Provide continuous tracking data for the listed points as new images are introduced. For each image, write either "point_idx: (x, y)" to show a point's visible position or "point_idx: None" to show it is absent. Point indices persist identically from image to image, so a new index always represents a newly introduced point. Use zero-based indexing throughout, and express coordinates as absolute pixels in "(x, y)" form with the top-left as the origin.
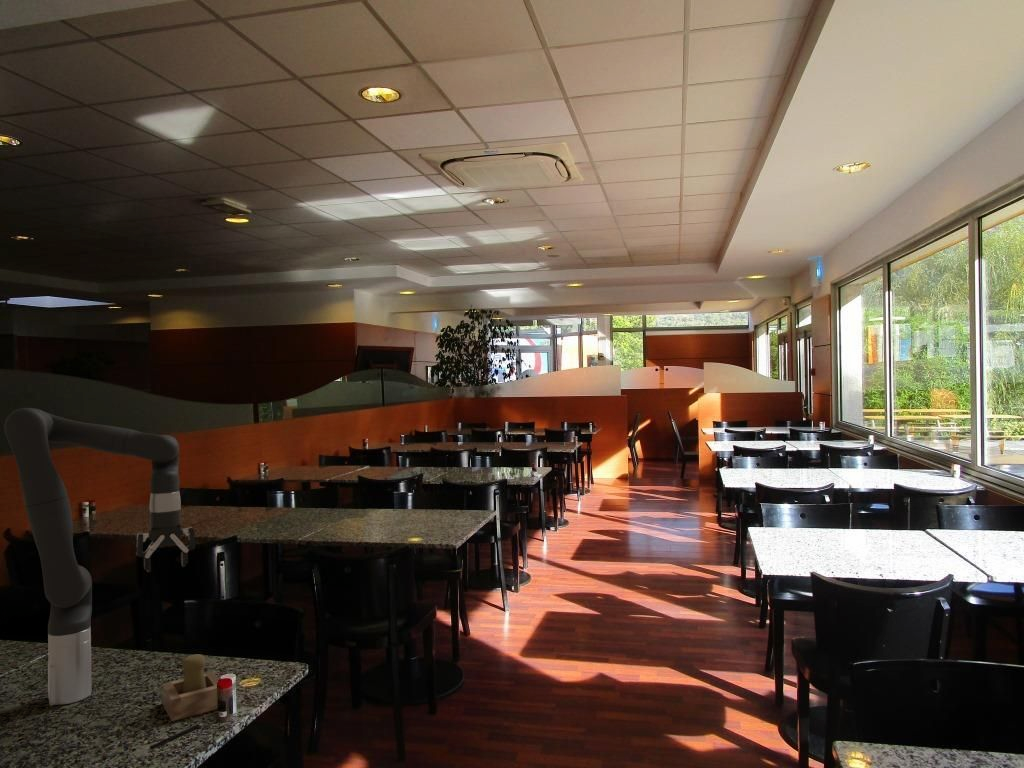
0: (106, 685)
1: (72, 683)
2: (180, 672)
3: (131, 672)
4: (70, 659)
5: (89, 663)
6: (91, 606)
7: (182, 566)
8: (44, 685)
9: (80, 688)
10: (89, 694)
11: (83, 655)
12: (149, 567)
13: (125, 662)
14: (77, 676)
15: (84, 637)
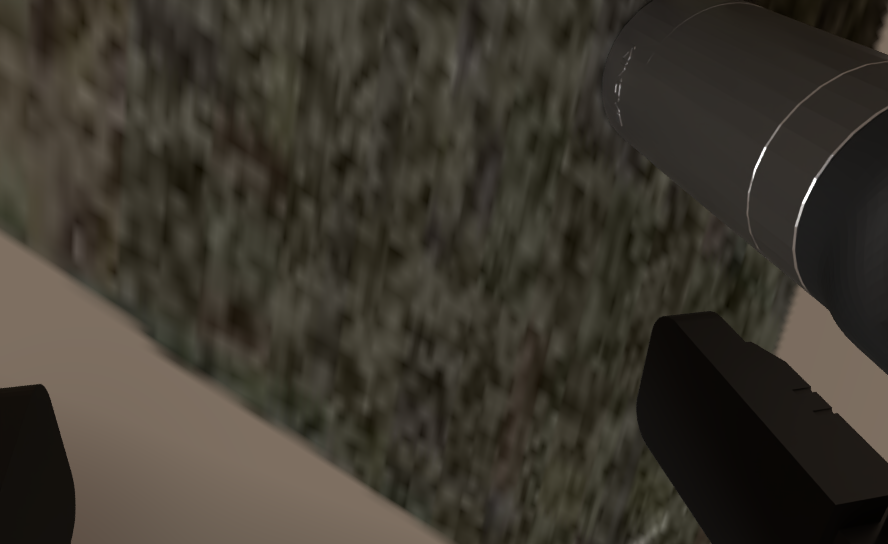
0: (531, 127)
1: (744, 7)
2: (194, 75)
3: (411, 229)
4: (836, 39)
5: (694, 82)
6: (871, 315)
7: (52, 417)
8: (702, 279)
9: (690, 7)
10: (621, 34)
11: (770, 62)
12: (728, 353)
13: (412, 365)
14: (740, 17)
15: (835, 102)
